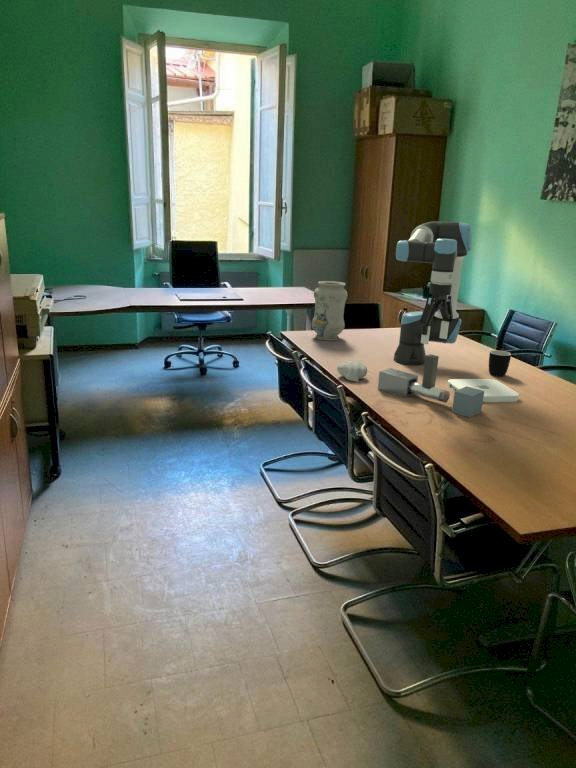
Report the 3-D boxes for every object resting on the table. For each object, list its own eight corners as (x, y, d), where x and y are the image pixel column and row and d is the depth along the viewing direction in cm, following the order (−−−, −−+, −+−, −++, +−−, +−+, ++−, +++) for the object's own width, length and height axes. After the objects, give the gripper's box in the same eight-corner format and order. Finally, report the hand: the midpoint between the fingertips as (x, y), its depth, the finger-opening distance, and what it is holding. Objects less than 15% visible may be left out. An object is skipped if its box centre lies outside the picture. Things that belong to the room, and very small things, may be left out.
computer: (521, 402, 223) (522, 395, 222) (468, 403, 219) (469, 396, 218) (493, 384, 244) (494, 378, 243) (444, 385, 240) (445, 379, 239)
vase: (327, 332, 322) (330, 279, 313) (351, 339, 310) (355, 283, 301) (304, 336, 311) (307, 281, 301) (328, 343, 298) (331, 285, 289)
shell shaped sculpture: (345, 371, 252) (347, 357, 250) (371, 377, 245) (372, 362, 243) (330, 378, 242) (331, 363, 240) (356, 384, 235) (358, 369, 233)
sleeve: (377, 389, 230) (379, 371, 227) (388, 385, 235) (390, 368, 233) (405, 397, 221) (407, 379, 219) (416, 393, 227) (418, 375, 224)
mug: (510, 378, 252) (513, 356, 249) (489, 376, 253) (492, 354, 250) (502, 370, 263) (506, 349, 260) (482, 369, 264) (486, 347, 261)
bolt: (384, 386, 229) (388, 347, 224) (390, 384, 232) (394, 345, 227) (443, 403, 212) (448, 361, 207) (448, 401, 215) (454, 359, 210)
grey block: (451, 412, 208) (454, 391, 206) (463, 406, 214) (466, 386, 212) (469, 417, 204) (473, 396, 201) (481, 411, 210) (484, 390, 207)
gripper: (432, 287, 194) (425, 347, 201) (467, 282, 212) (459, 338, 218) (413, 284, 199) (407, 343, 206) (448, 279, 217) (441, 334, 223)
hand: (433, 341), depth 212 cm, fingers open, 13 cm apart
